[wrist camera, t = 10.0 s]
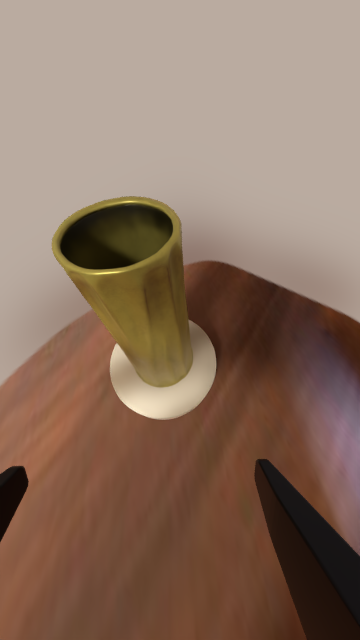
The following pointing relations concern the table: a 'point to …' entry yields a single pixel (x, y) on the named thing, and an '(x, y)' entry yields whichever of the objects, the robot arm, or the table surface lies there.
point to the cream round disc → (170, 398)
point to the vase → (133, 280)
